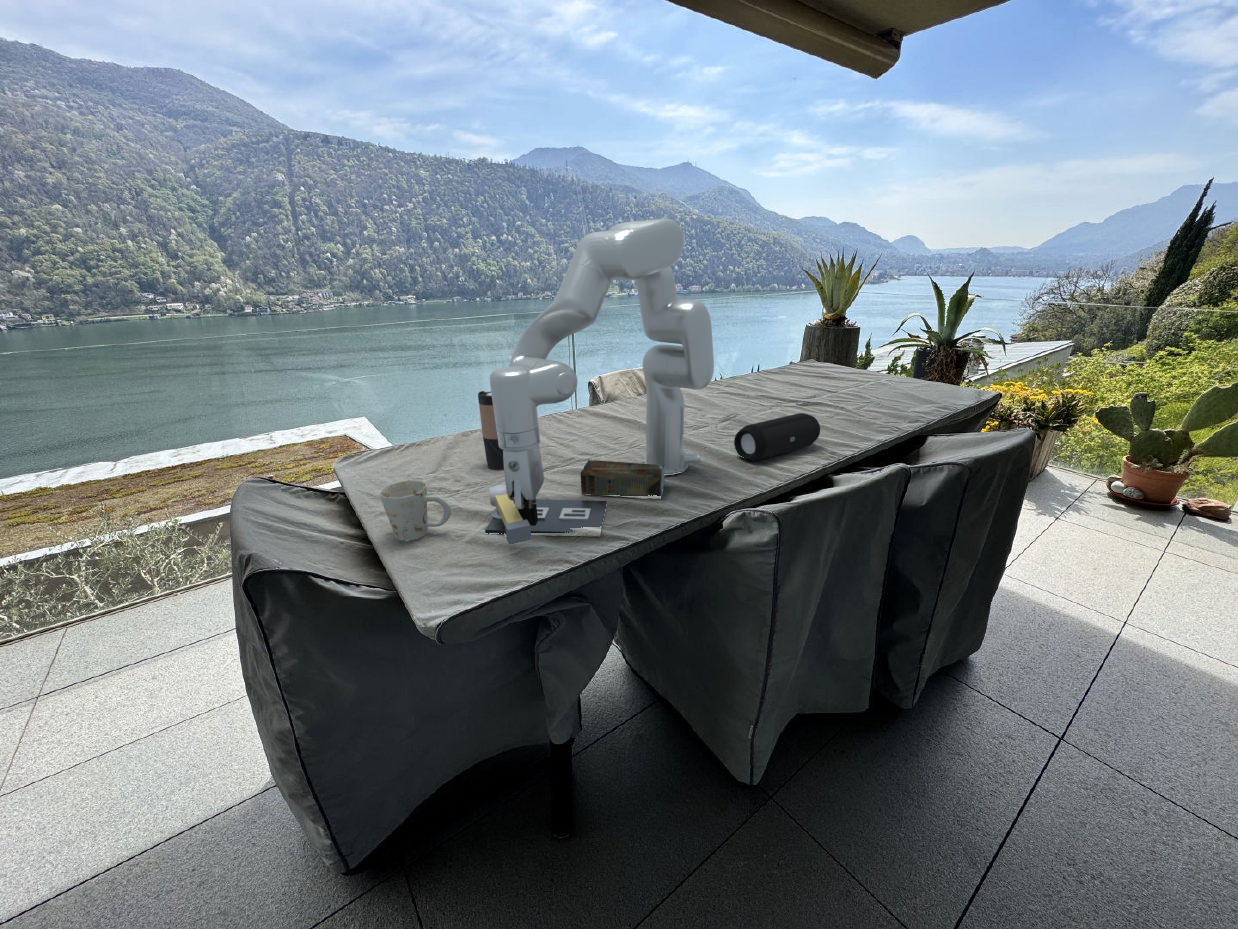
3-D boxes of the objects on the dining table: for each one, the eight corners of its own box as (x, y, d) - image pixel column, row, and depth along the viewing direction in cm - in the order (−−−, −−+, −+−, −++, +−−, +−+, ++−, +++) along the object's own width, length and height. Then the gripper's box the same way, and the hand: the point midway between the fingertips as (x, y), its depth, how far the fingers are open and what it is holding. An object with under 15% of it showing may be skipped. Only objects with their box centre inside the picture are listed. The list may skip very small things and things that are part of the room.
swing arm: (532, 539, 86) (531, 524, 85) (508, 545, 84) (506, 529, 83) (509, 496, 103) (508, 483, 102) (489, 500, 101) (487, 486, 100)
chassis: (607, 504, 106) (606, 490, 105) (600, 537, 93) (599, 521, 92) (501, 502, 108) (499, 488, 107) (480, 534, 95) (478, 518, 94)
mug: (397, 524, 99) (388, 480, 95) (459, 521, 100) (452, 477, 96) (382, 545, 92) (372, 498, 88) (449, 542, 92) (441, 495, 89)
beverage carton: (662, 501, 108) (662, 474, 106) (579, 496, 111) (578, 470, 109) (664, 486, 115) (665, 461, 113) (587, 482, 118) (586, 457, 116)
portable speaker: (757, 468, 125) (760, 431, 122) (730, 456, 133) (733, 422, 129) (820, 449, 138) (825, 416, 134) (792, 440, 145) (796, 408, 142)
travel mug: (508, 471, 125) (500, 396, 118) (481, 469, 127) (471, 395, 119) (519, 460, 132) (512, 389, 125) (494, 458, 134) (485, 388, 126)
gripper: (528, 451, 80) (539, 544, 87) (547, 423, 93) (555, 505, 101) (485, 451, 80) (499, 544, 88) (510, 423, 94) (520, 505, 101)
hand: (529, 523), depth 94 cm, fingers closed
